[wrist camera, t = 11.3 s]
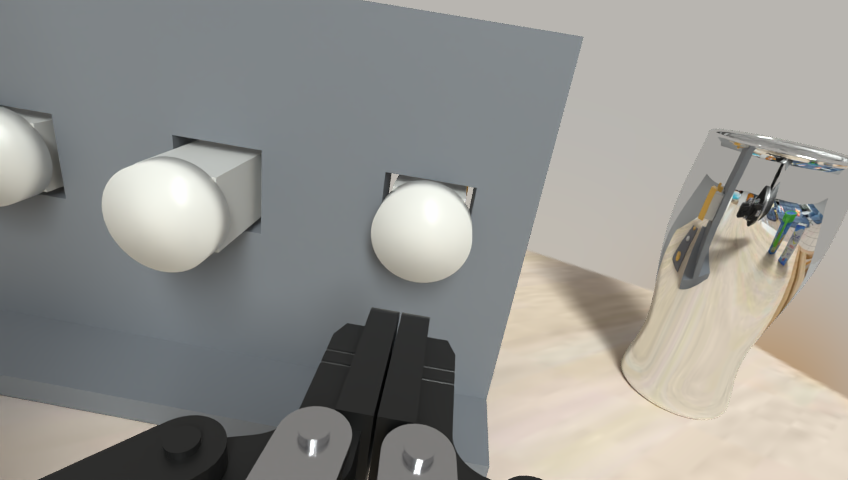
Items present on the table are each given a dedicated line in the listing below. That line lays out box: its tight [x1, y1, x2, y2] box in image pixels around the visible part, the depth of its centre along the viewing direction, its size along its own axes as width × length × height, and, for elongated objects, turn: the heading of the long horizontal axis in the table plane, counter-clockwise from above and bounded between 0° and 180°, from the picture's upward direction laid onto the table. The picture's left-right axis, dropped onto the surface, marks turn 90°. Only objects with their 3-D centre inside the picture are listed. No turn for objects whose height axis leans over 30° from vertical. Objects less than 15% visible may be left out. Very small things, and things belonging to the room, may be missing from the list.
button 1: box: [371, 174, 472, 283], centre depth 23 cm, size 4×10×4 cm, turn 174°
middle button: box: [102, 140, 262, 272], centre depth 20 cm, size 4×10×4 cm, turn 174°
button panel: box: [0, 0, 583, 477], centre depth 21 cm, size 27×10×18 cm, turn 84°
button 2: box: [0, 106, 64, 207], centre depth 23 cm, size 4×10×4 cm, turn 174°
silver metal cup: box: [621, 129, 848, 420], centre depth 26 cm, size 7×7×15 cm
